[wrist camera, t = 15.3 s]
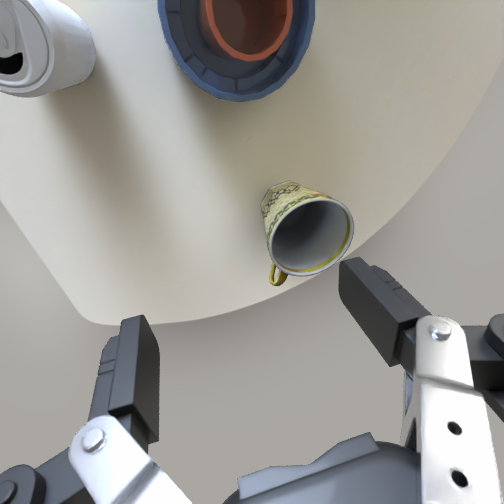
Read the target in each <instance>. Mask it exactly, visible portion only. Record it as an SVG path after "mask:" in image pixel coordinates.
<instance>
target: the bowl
mask: <svg viewBox="0 0 504 504" xmlns="http://www.w3.org/2000/svg"><path fill="white" fill-rule="evenodd" d="M198 3H199V0H158V13H159V17H160V21H161V26H162V30H163V34H164V38H165V42H166V44H167V46H168V48H169V50H170V52H171V54H172V55H173V57H174V59H175V61H176V63H177V65H178V66H179V67H180V68H181V69H182V71H183V72H184V73H185V74H186V75H187V76H188V77H189V78H190V79H191V80H192V81H193V82H194V83H195V84H196V85H197V86H198V87H199V88H201V89H203V90H205V91H206V92H208V93H210V94H212V95H214V96H215V97H217V98H219V99H225V100H230V101H236V102H245V101H250V100H255V99H261V98H263V97H265V96H266V95H268V94H270V93H272V92H273V91H275V90H277V89H279V88H280V87H281V86H282V85H283V84H284V83H285V82H286V81H287V80H288V79H289V78H290V77H291V75H292V74H293V73H294V72H295V71H296V69H297V68H298V66H299V64H300V62H301V60H302V58H303V56H304V54H305V52H306V50H307V48H308V46H309V42H310V38H311V34H312V29H313V25H314V20H315V0H292V3H293V16H292V19H291V23H290V27H289V31H288V34H287V36H286V37H285V39H284V40H283V42H282V44H281V45H280V47H279V48H278V49H277V50H276V51H275V52H274V53H272V54H271V55H269V56H268V57H266V58H265V59H263V60H257V61H251V62H245V61H234V60H229V59H225V58H223V57H220V56H218V55H217V54H216V53H214V52H213V51H212V50H211V49H210V48H209V47H208V45H207V44H206V43H205V41H204V39H203V37H202V35H201V32H200V29H199V25H198V17H197V11H198Z"/></svg>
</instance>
